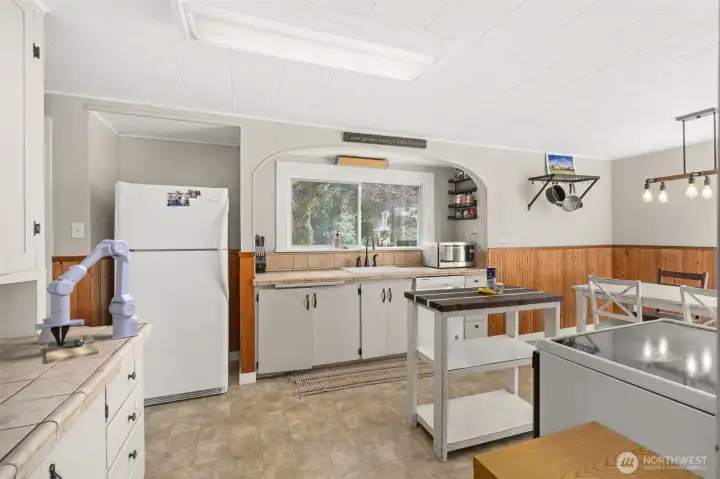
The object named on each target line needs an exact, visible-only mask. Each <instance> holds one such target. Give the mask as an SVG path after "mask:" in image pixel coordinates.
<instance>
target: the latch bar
mask: <svg viewBox="0 0 720 479" xmlns="http://www.w3.org/2000/svg"><path fill="white" fill-rule="evenodd" d="M75 339H76V340H74V339H69V340H66V339H64V345H63V346H65V345H81V344H84V339H80V338H75ZM47 344H48V347H54V346H58V345H57V341H54V342H49V343H47ZM60 346H61V340H60Z"/></svg>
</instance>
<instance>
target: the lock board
mask: <svg viewBox="0 0 720 479" xmlns="http://www.w3.org/2000/svg"><path fill="white" fill-rule="evenodd" d="M76 339H77V338H74V339H73V340H76ZM79 339H84V344H81V345H65V346H59V347H58V346H54V347H48V343H47V344H44V347H45V357H46V358H45V360H46V364H50V363H56V362H61V361H67V360H72V359H78V358H83V357H89V356H93V355H99V349H98V347H97V345H96V342H95V340H94V337H93V336H88V335H87V334H82V337H81V338H79Z"/></svg>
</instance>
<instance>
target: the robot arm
mask: <svg viewBox="0 0 720 479" xmlns="http://www.w3.org/2000/svg"><path fill="white" fill-rule="evenodd" d="M109 256H110V257H112V258H113V259H114V260H115V261H116V272H115V273H116V276H115V292H114V293H115V294H114V296H113V297H112V298H111V300H110V301H111V302H110V304H109V306H108V312H109V313H110V314H111V317H112V333H111V334H110V336H111V338H112V340H117V339H118V340H119V339H123V338H124V339H125V338H129V337H136V336H139V320H138V314H135V312H136V309H137V308H136V305H135V299H134V298H133V297H132V296H131V278H132V276H131V275H132V253H131V252H130V249H129V243H127V242H126V241H125V240H122V239H108V238H107V239H103V240H102V241H101V242H99V243H98V244H97V245H96V246H95V248H94V249H93V250H92V251H91V252H90V253H89V254H88V255H87V256H86V257H85V258H84V259H83V260H82V261H80V263H79V264H75V265H74V264H73V265H71V266H68V267H67V270H65V272H64V273H63V274H61V275H59V276H58V277H57V279H55V280H53V281H52V280H51V282H50V283H49V284H48V286H47V287H46V291H47V293H48V294H49V295H50V318H51V322H49V323H43V322H42V323H38V324H35V325H34V331H35V332H36V331H39V330H40V331H42V329H49V328H51V333H52V334H53V335H54V337H55V339H56V341H57V345H58V347H59V346H60V341H61V346H63V345H64V341H65V340H66V337H67V334H68V332H69V330H70V328H71V327H73V326H84V325H85V319H84V318H83V319H81V318H79V319H71V297H70V296H71V293H73V291H74V288H75V286H76V285H77V284H78V283H79V282H80V281H81V280H82V279H83V278H85V276H87V274H88V270H89V268H91V267H92V266H94V264H96V263H97V262H98V261H99V260H100V259H102V258H103V257H109Z"/></svg>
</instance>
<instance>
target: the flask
mask: <svg viewBox="0 0 720 479" xmlns="http://www.w3.org/2000/svg"><path fill="white" fill-rule="evenodd" d="M42 321H43V322H42V324H43V323H49V322H51V317H48V318H47V317H46V318H42ZM54 341H56V339H55V337H54V335H53V334H52V333H51V328H49V329H41V330H40V334H39V335H38V337H37V339H36V341H35V343H36V344H38V345H42V344H44V345H45V344H48V343H49V342H54Z"/></svg>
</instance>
